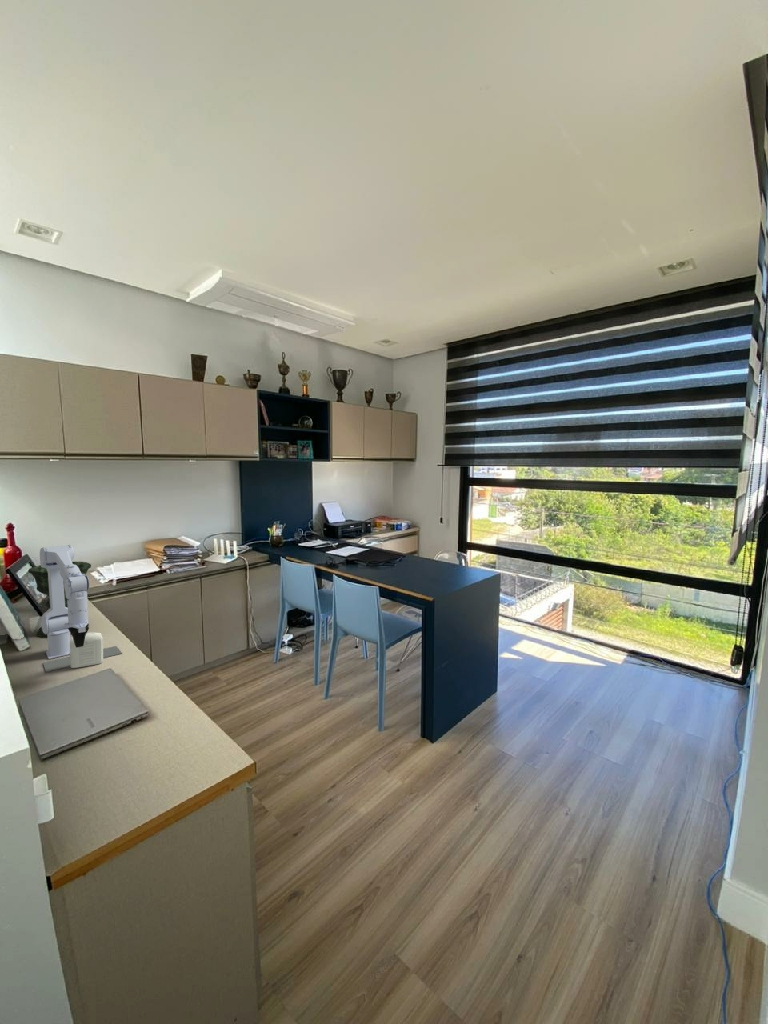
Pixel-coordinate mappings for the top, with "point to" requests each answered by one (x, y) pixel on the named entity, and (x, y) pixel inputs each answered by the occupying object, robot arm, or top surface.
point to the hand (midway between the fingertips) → (79, 646)
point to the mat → (66, 661)
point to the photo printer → (87, 651)
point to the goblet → (43, 584)
